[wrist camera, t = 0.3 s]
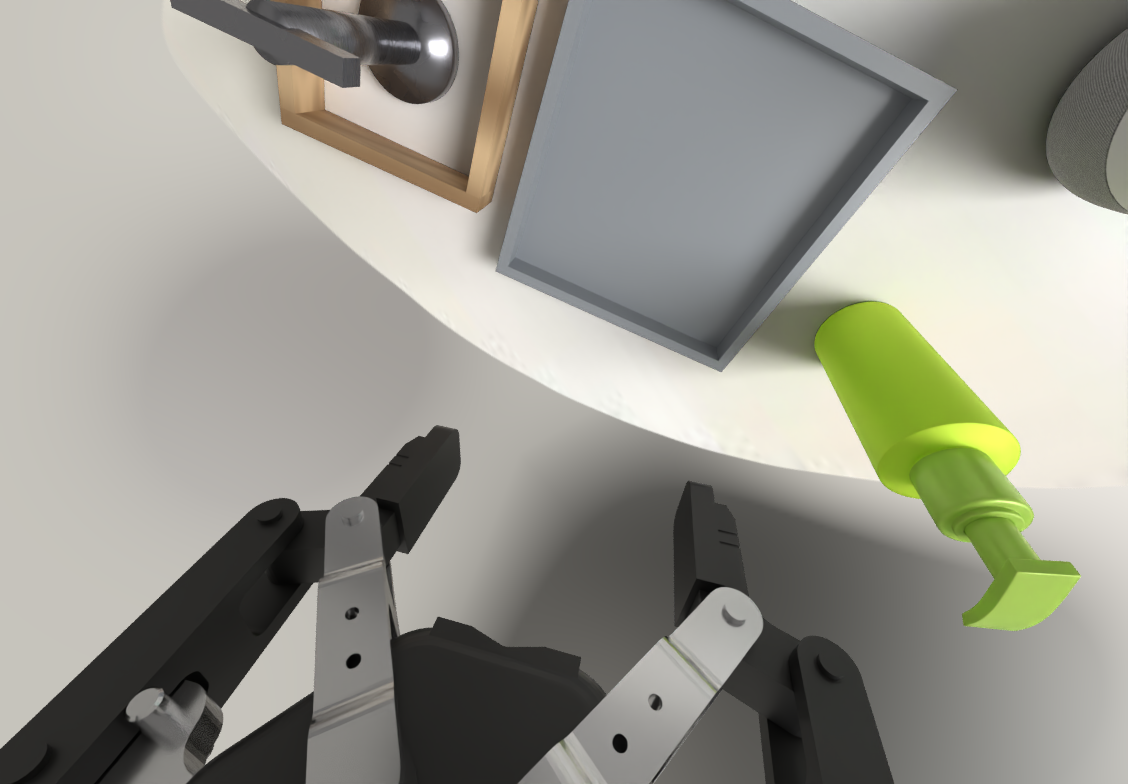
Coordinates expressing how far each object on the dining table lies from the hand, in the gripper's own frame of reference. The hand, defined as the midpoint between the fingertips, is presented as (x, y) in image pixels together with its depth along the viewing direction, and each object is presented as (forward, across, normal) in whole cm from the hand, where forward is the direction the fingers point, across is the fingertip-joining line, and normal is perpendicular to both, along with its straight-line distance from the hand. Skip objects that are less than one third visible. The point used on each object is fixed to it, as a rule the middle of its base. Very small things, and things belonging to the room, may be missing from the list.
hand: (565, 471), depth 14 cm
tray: (+21, -2, -7) cm, 23 cm away
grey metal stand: (+20, +16, -14) cm, 29 cm away
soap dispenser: (+23, -18, +2) cm, 30 cm away
